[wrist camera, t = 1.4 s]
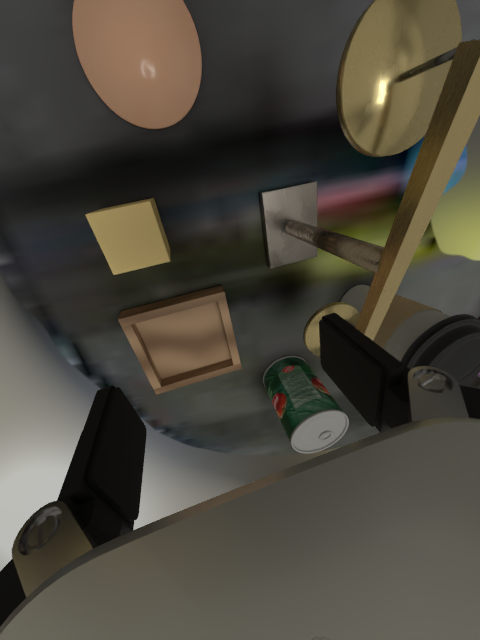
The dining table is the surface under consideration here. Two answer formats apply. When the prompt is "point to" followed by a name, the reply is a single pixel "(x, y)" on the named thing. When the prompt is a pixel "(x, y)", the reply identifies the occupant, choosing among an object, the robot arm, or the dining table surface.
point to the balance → (387, 143)
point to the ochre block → (130, 235)
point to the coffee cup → (426, 336)
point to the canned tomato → (304, 405)
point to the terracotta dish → (140, 57)
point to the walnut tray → (183, 338)
